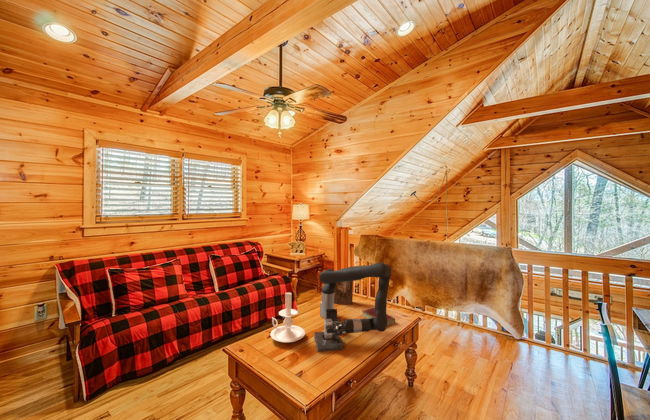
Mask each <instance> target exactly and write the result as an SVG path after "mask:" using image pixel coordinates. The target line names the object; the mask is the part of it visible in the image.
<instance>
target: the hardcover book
mask: <svg viewBox="0 0 650 420" xmlns="http://www.w3.org/2000/svg"><path fill="white" fill-rule="evenodd" d="M361 312H362V316H363V317H364V316H365V319H369V318H376V312H375V307H370V308H367V309H362V310H361ZM386 314H387V326H389V325H392V324H396V318H395V317H393V316H391V315H390V314H388V313H386Z"/></svg>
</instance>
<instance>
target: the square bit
mask: <svg viewBox="0 0 650 420" xmlns="http://www.w3.org/2000/svg"><path fill="white" fill-rule="evenodd" d="M323 319H324V320H323V321H324V323H323V328H324V329H323V332H324V340H332V333H327V329H332V328H333V321H332V319H326V318H323Z"/></svg>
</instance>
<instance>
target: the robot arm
mask: <svg viewBox="0 0 650 420" xmlns="http://www.w3.org/2000/svg"><path fill="white" fill-rule="evenodd" d="M391 276H392V269H391V266H390V265H389V264H386V263H384V262H375V263H373V264H368V265H356V266H348V267H344V268H340V269H339V270H334V269H332V268H328V269H326V270H323V271H322V272H320V274H319V277H318V279H319V281H320V283H323V286H322V287H321V302H319V316H321V317H322V319H326V309H335V303H334V291H335V288H336V282H342V281H353V282H356V281H357V282H358V281H360V280H363V279H366V278H378V279H379V281H378V282H379V283H378V285H379V286H378V288H377V292H376V295H375V298H374V299H375V300H374V308H375V312H376V318H369V319H368V318H350V319H349V318H347V319H344V320H343V321H342V319H341V318H339V319H338V318H337V319H334V320H332V321H333V324H334V325H333V326H334V329H327V333H334V334H335V335H339V336H343V335H346V334H357V333H364V332H365V333H367V332H370V331H378V332H385V331H386V330H387V328H388V325H387V314H388V313H387V303H388V292H389V286H390V281H391Z"/></svg>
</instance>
